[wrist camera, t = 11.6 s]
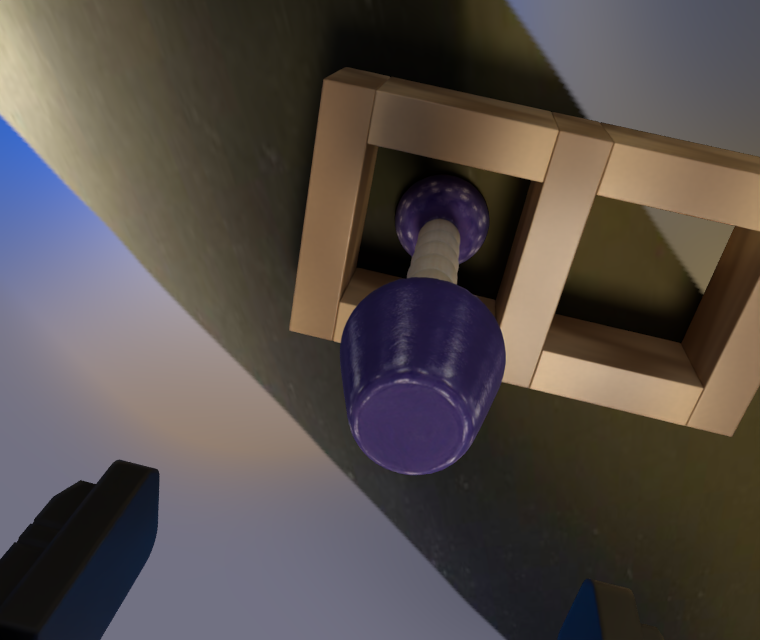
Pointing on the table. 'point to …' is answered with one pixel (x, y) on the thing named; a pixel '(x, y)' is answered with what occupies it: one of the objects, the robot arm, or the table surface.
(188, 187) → the table surface
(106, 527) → the robot arm
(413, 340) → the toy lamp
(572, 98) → the table surface
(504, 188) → the table surface
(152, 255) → the table surface
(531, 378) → the socket block
